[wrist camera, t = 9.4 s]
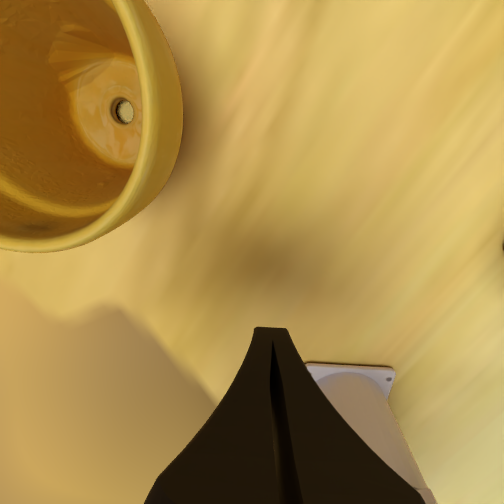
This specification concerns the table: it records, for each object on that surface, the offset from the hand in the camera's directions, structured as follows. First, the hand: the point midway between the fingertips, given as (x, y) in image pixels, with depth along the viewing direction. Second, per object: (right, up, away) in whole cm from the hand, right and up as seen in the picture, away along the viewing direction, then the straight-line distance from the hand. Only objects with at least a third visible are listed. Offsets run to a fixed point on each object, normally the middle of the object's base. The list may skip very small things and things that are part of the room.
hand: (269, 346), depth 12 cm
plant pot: (-8, +13, +5) cm, 16 cm away
